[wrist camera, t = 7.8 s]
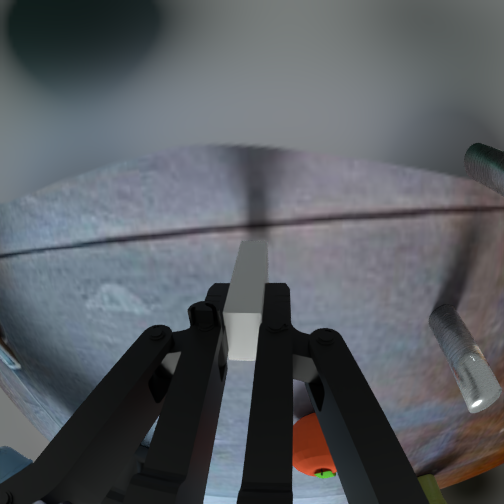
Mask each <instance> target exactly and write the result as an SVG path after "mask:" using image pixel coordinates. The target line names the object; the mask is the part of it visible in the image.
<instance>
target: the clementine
mask: <svg viewBox="0 0 504 504" xmlns="http://www.w3.org/2000/svg"><path fill="white" fill-rule="evenodd" d="M293 466H294V467H295V468H296V469H297V470H298V471H300V472H302V473H304V474H307V475H309V476H317V477H319V478H329V477H333V476H336V472H337V470H336V467H335V465H334V462H333V459H332V456H331V454H330V451H329V448H328V446H327V443H326V440H325V437H324V435H323V432H322V429H321V427H320V424H319V421H318V418H317V416H316V413H312V414H309V415H307V416H304V417H303V418H301V419H299V420H298V421H297V422H296V423H295V424H294V425H293Z"/></svg>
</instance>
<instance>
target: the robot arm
mask: <svg viewBox="0 0 504 504" xmlns="http://www.w3.org/2000/svg"><path fill="white" fill-rule="evenodd" d="M188 315H189V320H190V325H191V326H190V328H189V329H186V330H183V331H177V332H172V330H171V329H170V328H169V327H167V326H165V325H154V326H151V327H149V328H147V329H146V330H145V331H144V332H143V333H142V334H141V335H140V337H139V338H138V339H137V340H136V341H135V342H134V343H133V345H132V346H131V347H130V348H129V349H128V350H127V351H126V353H125V354H124V355H123V356H122V357H121V358H120V360H119V361H118V362H117V363H116V364H115V365H114V366H113V368H112V369H111V370H110V371H109V372H108V374H107V375H106V376H105V377H104V378H103V379H102V381H101V382H100V383H99V384H98V385H97V386H96V388H95V389H94V390H93V391H92V392H91V394H90V395H89V396H88V397H87V398H86V400H85V401H84V402H83V403H82V404H81V405H80V407H79V408H78V409H77V410H76V411H75V413H74V414H73V415H72V416H71V418H70V419H69V420H68V421H67V422H66V424H65V425H64V426H63V427H62V428H61V430H60V431H59V432H58V433H57V435H56V436H55V437H54V438H53V440H52V441H51V442H50V443H49V445H48V446H47V447H46V448H45V450H44V451H43V452H42V453H41V455H40V456H39V457H38V458H37V459H36V461H35V462H34V463H33V461H32V460H31V459H28V458H26V457H24V456H23V455H21V454H20V453H18V452H17V451H16V450H14V449H12V448H11V447H8V446H3V447H0V504H203V500H204V495H205V489H206V484H207V478H208V473H209V467H210V462H211V456H212V451H213V445H214V440H215V435H216V429H217V424H218V418H219V413H220V407H221V402H222V396H223V391H224V386H225V380H226V375H227V369H228V368H227V356H229V360H244V361H256V362H255V371H254V381H253V390H252V399H251V408H250V417H249V426H248V434H247V443H246V451H245V460H244V468H243V476H242V484H241V488H240V490H239V493H238V498H237V504H293V492H292V465H293V379H296V380H299V381H303V382H305V386H306V389H307V391H308V394H309V397H310V400H311V402H312V405H313V408H314V410H315V413H316V416H317V418H318V421H319V424H320V427H321V429H322V432H323V435H324V437H325V440H326V443H327V446H328V448H329V451H330V454H331V456H332V459H333V462H334V465H335V467H336V470H337V473H338V476H339V478H340V481H341V484H342V486H343V489H344V492H345V495H346V497H347V500H348V503H349V504H430V503H429V501H428V499H427V497H426V495H425V493H424V491H423V489H422V487H421V485H420V483H419V481H418V479H417V477H416V474H415V472H414V470H413V468H412V466H411V464H410V463H409V461H408V459H407V457H406V455H405V453H404V451H403V449H402V447H401V445H400V443H399V441H398V439H397V437H396V435H395V433H394V431H393V429H392V428H391V426H390V424H389V422H388V420H387V418H386V416H385V414H384V412H383V410H382V409H381V407H380V405H379V403H378V401H377V399H376V397H375V396H374V394H373V392H372V390H371V388H370V386H369V385H368V383H367V381H366V379H365V377H364V375H363V374H362V372H361V370H360V368H359V366H358V365H357V363H356V361H355V359H354V357H353V356H352V354H351V352H350V350H349V348H348V347H347V345H346V343H345V341H344V340H343V338H342V336H341V335H340V334H339V333H338V332H337V331H335V330H333V329H328V328H320V329H317V330H315V331H313V332H312V333H311V334H306V333H302V332H300V331H298V330H296V329H295V328H294V327H293V325H292V324H291V307H290V288H289V287H288V286H287V284H286V283H268V241H241V244H240V248H239V252H238V256H237V260H236V263H235V267H234V271H233V275H232V279H231V283H215V284H214V285H212V286H211V287H210V288H209V290H208V293H207V296H206V299H205V301H200V302H197V303H194V304H193V305H191V306H190V307H189V308H188ZM159 415H160V416H159ZM158 416H159V419H158V422H157V425H156V428H155V431H154V434H153V437H152V440H151V443H150V446H149V449H148V448H146V447H143V446H141V445H140V444H141V442H142V441H143V439H144V438H145V436H146V435H147V433H148V432H149V430H150V428H151V427H152V425H153V424H154V422H155V421H156V419H157V418H158Z"/></svg>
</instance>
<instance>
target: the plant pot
mask: <svg viewBox="0 0 504 504" xmlns="http://www.w3.org/2000/svg"><path fill="white" fill-rule="evenodd" d="M417 479H418V481H419V483H420V485H421V487H422V489H423V491H424V493H425V495H426V497H427V499H428V501H429V503H430V504H447V503H446V501H445V499H443V496H442V494H441V492H440V489H439V487H438V484H437V482H436V480H435V477H434V475H431V474H427V475H423V476H419V477H417Z"/></svg>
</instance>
